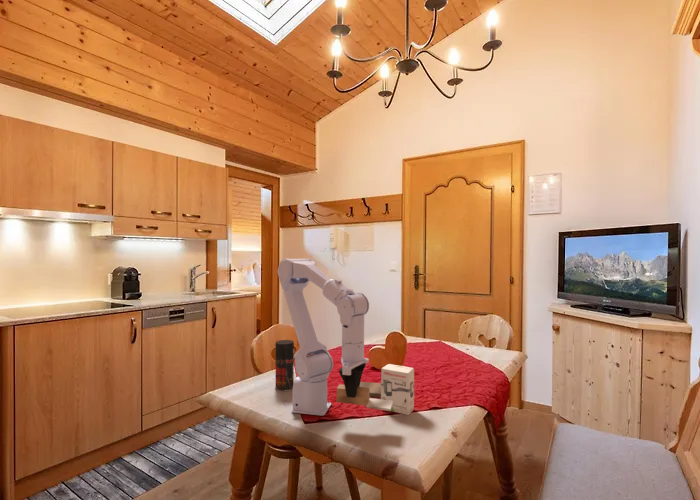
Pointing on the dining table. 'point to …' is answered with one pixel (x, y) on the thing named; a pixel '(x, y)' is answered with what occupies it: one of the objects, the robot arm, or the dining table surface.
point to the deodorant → (284, 365)
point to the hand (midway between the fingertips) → (352, 394)
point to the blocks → (363, 399)
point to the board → (372, 388)
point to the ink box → (398, 387)
